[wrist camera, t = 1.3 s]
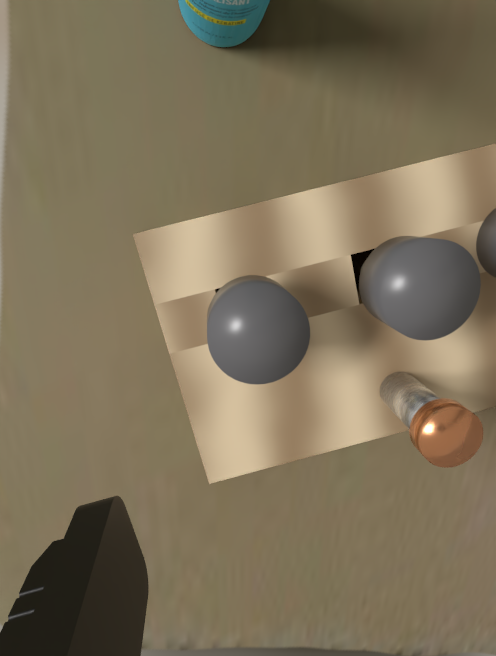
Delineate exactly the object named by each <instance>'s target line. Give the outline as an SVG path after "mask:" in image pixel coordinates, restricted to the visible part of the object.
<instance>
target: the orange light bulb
mask: <svg viewBox="0 0 496 656" xmlns="http://www.w3.org/2000/svg"><path fill="white" fill-rule="evenodd" d="M380 397H381V399H382V401H383V402H384V403H385V404H386V405H387V406H388V407H389V408H390V409H391V410H392V411H393V413H394V414H395V415H396V416H397V417H398V418H399V419H400V420H401V421H402V422H403V423H404V424H405V425H406V426H407V427H408V428H409V429H410V430H409V433H410V438H411V441H412V443H413V445H414V446H415V447H416V448H417V449H418V450H419V451H420V453H421V454H422V455H423V456H424V457H425V458H426V459H427V460H428V461H429V462H430V463H432V464H433V465H436V466H439V467H447V468H448V467H454V466H458V465H460V464H463V463H464V462H466V461H468V460H469V459H470V458H471V457H472V456H473V455H474V454H475V453H476V452H477V450H478V449H479V447H480V445H481V442H482V439H483V427H482V424H481V422H480V420H479V418H478V417H477V416H476V415H475V414H474V413H472V412H471V411H470V410H468V409H467V408H466V407H464V406H463V405H461V404H460V403H459V402H457V401H455V400H452V399H448V398H440V397H438V396H437V395H436V394H435V393H433V392H432V391H431V390H430V389H428V388H427V387H426V386H424V385H423V384H422V383H421V382H419V381H418V380H417V379H416V378H414V377H413V376H412V375H410V374H409V373H407V372H402V371H399V372H394V373H392V374H390V375H388V376H387V377H386V378H385V379H384V380H383V382H382V384H381V386H380Z"/></svg>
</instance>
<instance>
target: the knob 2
mask: <svg viewBox="0 0 496 656" xmlns="http://www.w3.org/2000/svg"><path fill="white" fill-rule="evenodd" d="M476 251H477V256H478V260H479V262H480V264H481V266H482V267H483V268H484V270H485V271H486V272H487V273H489V274H490V275H492V276H493V277H496V208H495V209H494V210H492V211H491V212H490V214H489V215H488V216H487V217H486V218H485V220H484V221H483V223H482V225H481V227H480V229H479V232H478V236H477V241H476Z"/></svg>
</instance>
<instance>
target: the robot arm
mask: <svg viewBox="0 0 496 656" xmlns="http://www.w3.org/2000/svg"><path fill="white" fill-rule="evenodd" d="M19 595H20V596H19V598H17V599H16V601H15V603H14V605H13V607H12V609H11V611H10V613H9V615H8V618H9V620H8V622H5V624H4V626H3V629H2V630H1V632H0V656H140V655H141V647H142V639H143V631H144V623H145V616H146V608H147V600H148V575H147V569H146V564H145V560H144V557H143V554H142V551H141V549H140V546H139V543H138V540H137V538H136V535H135V532H134V529H133V527H132V524H131V521H130V518H129V515H128V513H127V510H126V507H125V505H124V502H123V501H122V499H121V498H120V497H119V496H114V497H111V498H107V499H103V500H100V501H96V502H92V503H89V504H85V505H81V506H79V507H78V508H77V509H76V511H75V513H74V515H73V518H72V520H71V523H70V525H69V527H68V530H67V532H66V535H65V537H64V539H61V540H57V541H54V542H52V543H51V545H50V546H49V547H48V548H47V549H46V550H45V552H44V553H43V554H42V555H41V556H40V557H39V559H38V560H37V561H36V562H35V563H34V564H33V565H32V567H31V569H30V571H29V573H28V575H27V577H26V579H25V582H24V584H23V586H22V588H21V590H20V592H19Z"/></svg>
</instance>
